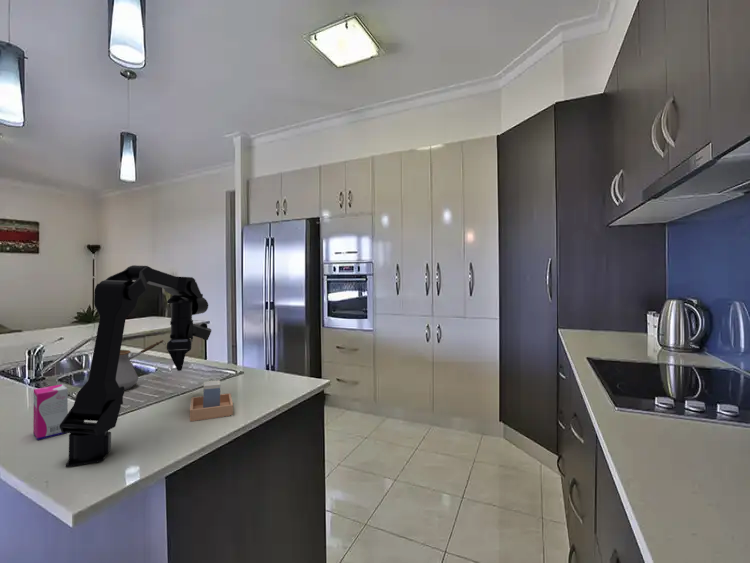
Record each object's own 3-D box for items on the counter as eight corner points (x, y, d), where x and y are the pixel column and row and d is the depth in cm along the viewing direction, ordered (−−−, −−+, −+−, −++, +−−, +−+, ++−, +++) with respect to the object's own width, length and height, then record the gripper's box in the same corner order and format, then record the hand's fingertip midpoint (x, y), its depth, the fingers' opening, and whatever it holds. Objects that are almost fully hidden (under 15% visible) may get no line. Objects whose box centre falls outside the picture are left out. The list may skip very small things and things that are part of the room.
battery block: (202, 413, 103) (203, 386, 103) (203, 407, 107) (203, 381, 107) (219, 411, 105) (220, 384, 105) (219, 406, 109) (219, 380, 109)
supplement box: (62, 426, 93) (63, 383, 93) (67, 433, 89) (68, 388, 89) (32, 433, 89) (33, 388, 89) (36, 441, 85) (37, 393, 85)
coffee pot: (107, 396, 116) (108, 350, 116) (91, 389, 122) (92, 346, 122) (172, 380, 135) (173, 341, 134) (156, 375, 141) (157, 338, 140)
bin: (189, 421, 99) (190, 410, 99) (191, 407, 109) (191, 397, 109) (232, 415, 104) (233, 405, 103) (230, 402, 114) (230, 393, 114)
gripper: (210, 320, 105) (209, 372, 105) (209, 313, 122) (208, 358, 122) (167, 321, 100) (166, 375, 100) (172, 313, 117) (171, 360, 117)
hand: (180, 366), depth 110 cm, fingers open, 9 cm apart
